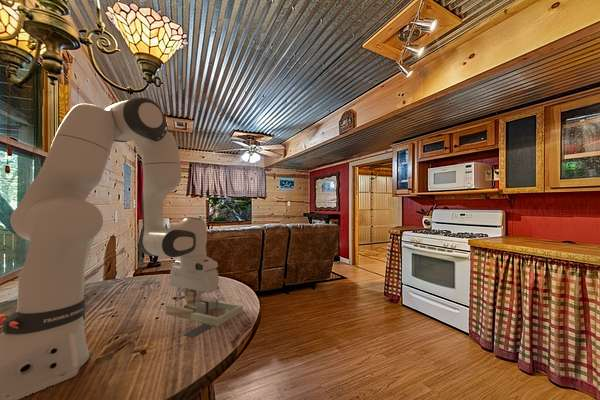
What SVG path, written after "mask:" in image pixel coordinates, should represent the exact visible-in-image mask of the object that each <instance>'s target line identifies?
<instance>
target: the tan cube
mask: <svg viewBox="0 0 600 400" xmlns="http://www.w3.org/2000/svg"><path fill="white" fill-rule="evenodd" d="M188 309H192V310H194V312H196V313H201V314H205V315H207V312H206V303H204V302H200V301H196V302H194V303H191V304H188Z"/></svg>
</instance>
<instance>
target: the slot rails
mask: <svg viewBox="0 0 600 400" xmlns="http://www.w3.org/2000/svg"><path fill="white" fill-rule="evenodd" d="M206 297H207V296H204V295H203V296H202V295H201V299H203V298H206ZM217 301H219V299H218V298H216V302H217ZM193 312H194V310H192V309H188V308H184V306H183V307H182V306H178V305H173V304H166V305H165V314H167V315H171V316H176V317H180V318H183V319H188V320H191V313H193Z"/></svg>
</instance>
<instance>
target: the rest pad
mask: <svg viewBox="0 0 600 400" xmlns="http://www.w3.org/2000/svg"><path fill="white" fill-rule="evenodd" d="M213 327H214V325H211V324H207V323H202V324H200V325H199V326H196V327H195V328H193V329H191V330H190V331H187V332H185V333H184V334H183V336H184V337H187V338H190V339H191V338H192V339H194V338H195V337H198V336H199V335H201V334H202V333H205V332H206V331H208V330H210V329H211V328H213Z"/></svg>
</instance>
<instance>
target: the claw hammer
mask: <svg viewBox="0 0 600 400" xmlns="http://www.w3.org/2000/svg"><path fill="white" fill-rule="evenodd" d="M218 288H219V285H218ZM203 293H205V292H204V291H203ZM183 299H185V295H184V294H183V295H181V296H180V297H177V296H173V297H172V300H174V301H176V302H178V301H179V300H181V301H182V300H183Z"/></svg>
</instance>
